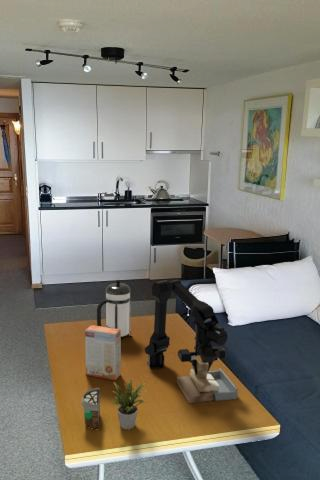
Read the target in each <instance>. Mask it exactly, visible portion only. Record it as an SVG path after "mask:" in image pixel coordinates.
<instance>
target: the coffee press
mask: <svg viewBox="0 0 320 480" xmlns="http://www.w3.org/2000/svg"><path fill="white" fill-rule="evenodd" d="M104 290H105V293H106V294H105V299H102V300H101V301H100V302H99V303H98V305H97V308H96V326H101V327H103V326H102V307H103V306H104V305H105V327H108V328H114V329H121V338H122V337H125V336H129V337H130V334H131V335H132V336H133V333H132V331H131V291H132V289H131V288H130V286H129V285H127V284H125V283H122V282H121V280H120V279H117V280H115V283H111V284H109V285H107V287H106V288H105V289H104Z"/></svg>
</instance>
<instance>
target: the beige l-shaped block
mask: <svg viewBox="0 0 320 480" xmlns="http://www.w3.org/2000/svg"><path fill="white" fill-rule="evenodd" d="M197 361H198V362H197V375H196V374H195V372H194V369H193V368H190V370H189V371H190V372H189V376H190V377H191V379H192V380H193V382H194V383H195V385H196V386H197V388H198V390H199V391H200V392H210V386H211V384H210V383H209V382H208V380H207V379H206V378H207V372H208V367H209V364H208V363H203V362H202V360H197Z"/></svg>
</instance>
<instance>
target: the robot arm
mask: <svg viewBox="0 0 320 480" xmlns="http://www.w3.org/2000/svg"><path fill="white" fill-rule="evenodd" d="M172 293H174V295H176V297H178V299H179V300H180V301H182V303H184V305H185V306H186V307H187V308H188V309H189V310H190V315H191V317H192V318H193V319H194V320H193V321H192V322H191V324H192V325H195V336H194V343H195V344H194V345H195V346H194V347H193V350H194V351H189V349H188V348H182V349H178V351H177V357H178V359H179V360H180V361H181V363H187V362H189V363H191V366H192V369H194V372H195V374H196V375H197V362H198V361H199V360H197V357H199V358H200V359H201V360H200V361H202V362H203V363H208V364H209V367H208V371H210V369H211V366H212V365H213V363H214V362H216V361H218V359H220V360H221V359H226V358H227V351H226V350H225V348H224V347H222V346H224V345H225V344H226V342H227V341H228V336H229V335H228V332H227V331H225V327H223V326H220V325H219V324H220V323H219V320H218V317H217V315H216V313H215V311H214V309H213V307H212V306H211V305H209V304H208V303H207V302H206V301H202V300H200V299H198V298H197V297H196V296H195V295H194V294H193V293H192V292H191V291H190V290H189V289H188V288H187V287H186V286H185V285H183V283H182V281H181V280H180V279H179V280H178V279H175V280H170V281H169V280H167V279H165V280H161V281H157V282H154V283H153V284H152V285H151V295H152V297H153V299H154V301H155V303H154V304H155V305H154V322H153V323H154V326H153V333H152V334H151V336H150V338H149V343H148V344H147V345H146V347H144V353H145V354H146V355H147V362H146V364H147V366H148V367H149V369H150V370H151V369H161V368H165V355H164V353H166V352H167V350H168V348H169V346H170V340H171V339H170V336H168V334H167V333H166V327H167V326H166V324H167V307H168V301H169V299H170V297H171V295H172ZM209 320H210V321H209ZM212 343H213V344H216V345H217V346H212ZM207 373H208V372H207Z"/></svg>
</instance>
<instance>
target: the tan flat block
mask: <svg viewBox="0 0 320 480" xmlns="http://www.w3.org/2000/svg"><path fill="white" fill-rule="evenodd" d="M176 383H177V385H178V387H179V388H180V390H181V392H182V393H183V395H184V397H185V398H186V400H187V402H188V403H189V404H193V403H200V402H201V403H202V402H208V401H209V402H210V401H215V400H214V394H213V392H212V391H210V392H200V391H199V390H198V388H197V386H196V385H195V383H194V382H193V380H192V379H191V377H190V375H185V376H177V377H176Z"/></svg>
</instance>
